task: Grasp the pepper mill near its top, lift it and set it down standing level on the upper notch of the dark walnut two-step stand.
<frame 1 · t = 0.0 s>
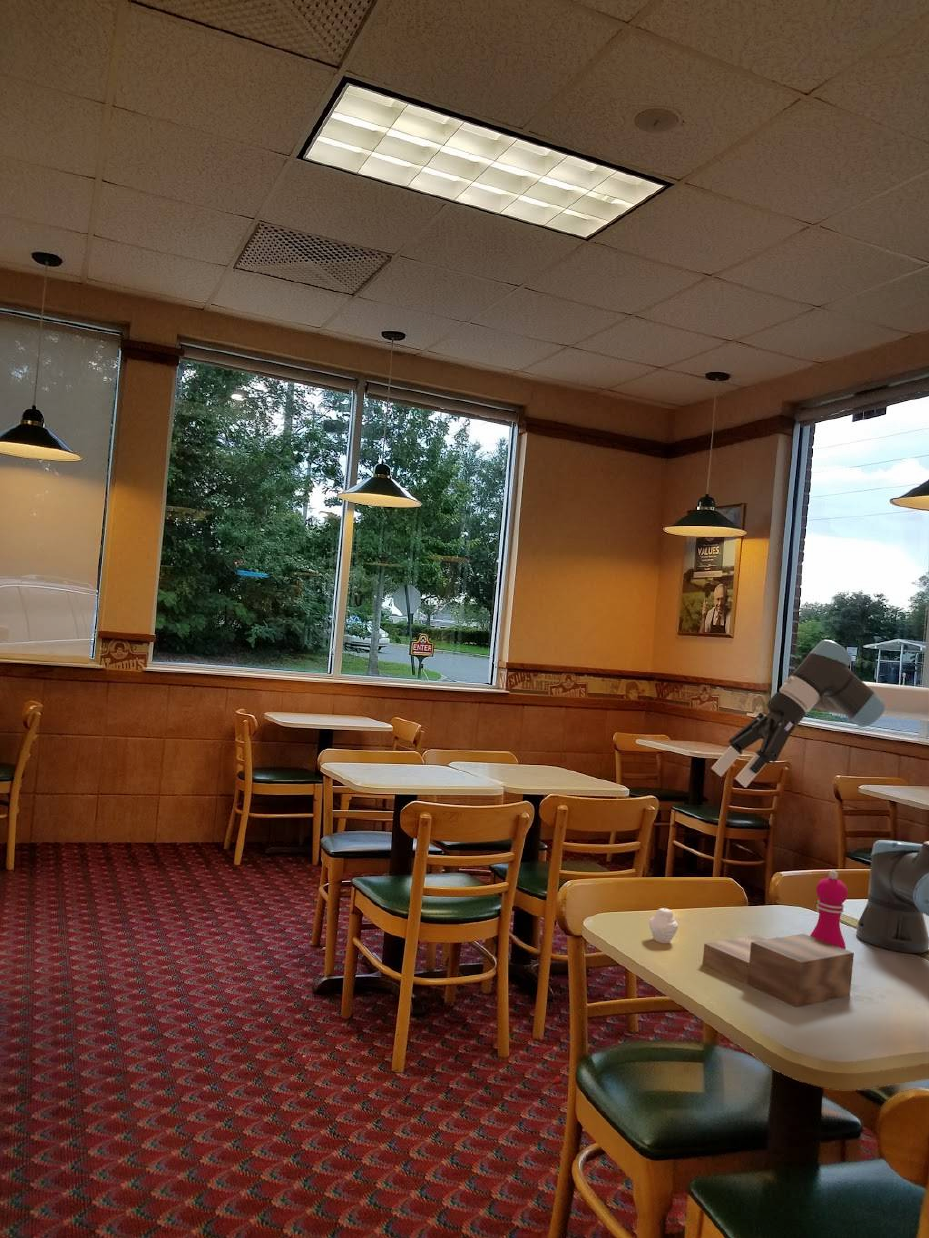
hand: (727, 777, 194), 36 cm above the table, tool tilted 35°, fingers open, 13 cm apart
step stand: (774, 978, 178), on the table
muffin: (661, 941, 195), on the table
pepper mill: (824, 970, 187), on the table
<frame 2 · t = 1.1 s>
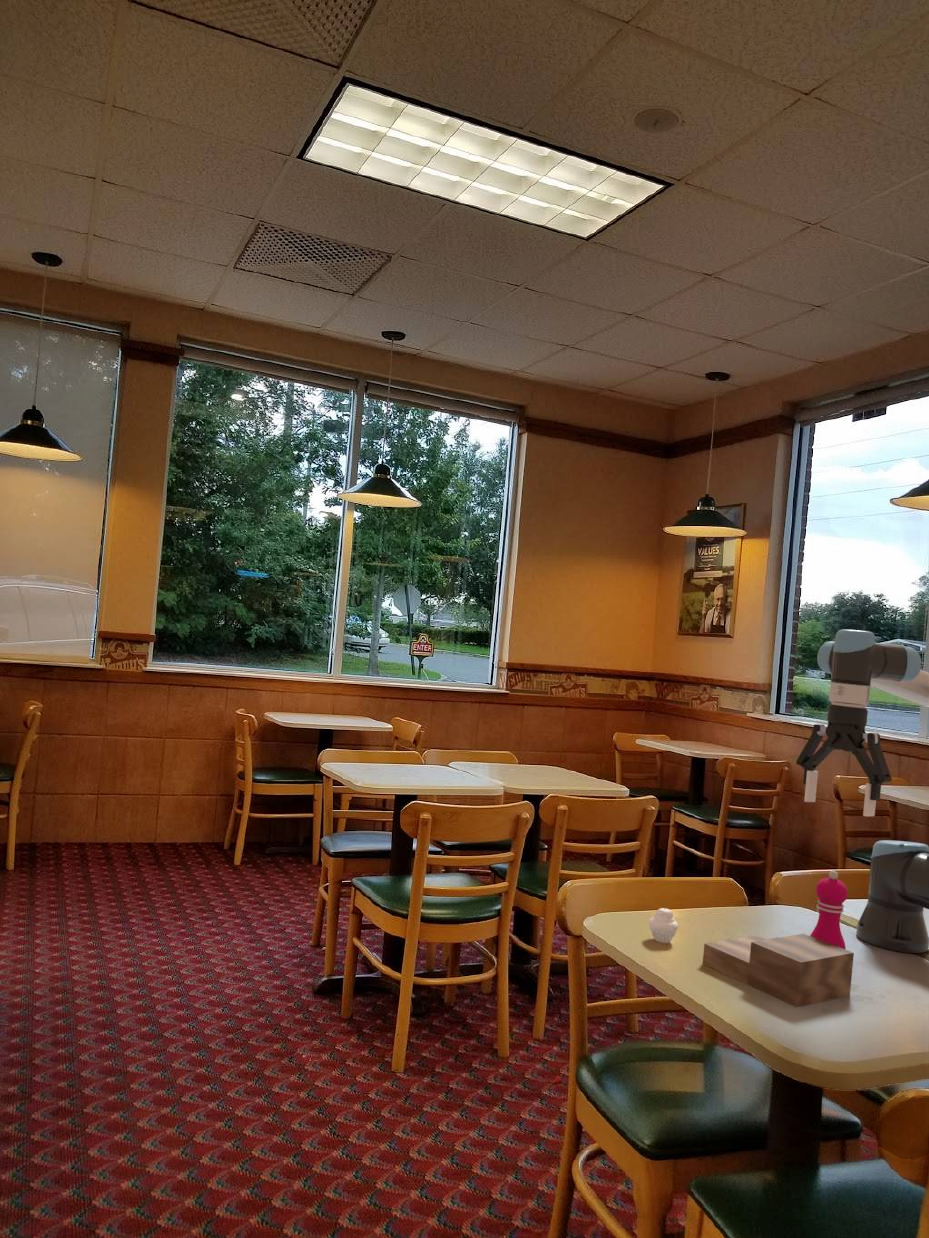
hand: (838, 808, 187), 33 cm above the table, tool pointing down, fingers open, 13 cm apart
nothing on the table moved.
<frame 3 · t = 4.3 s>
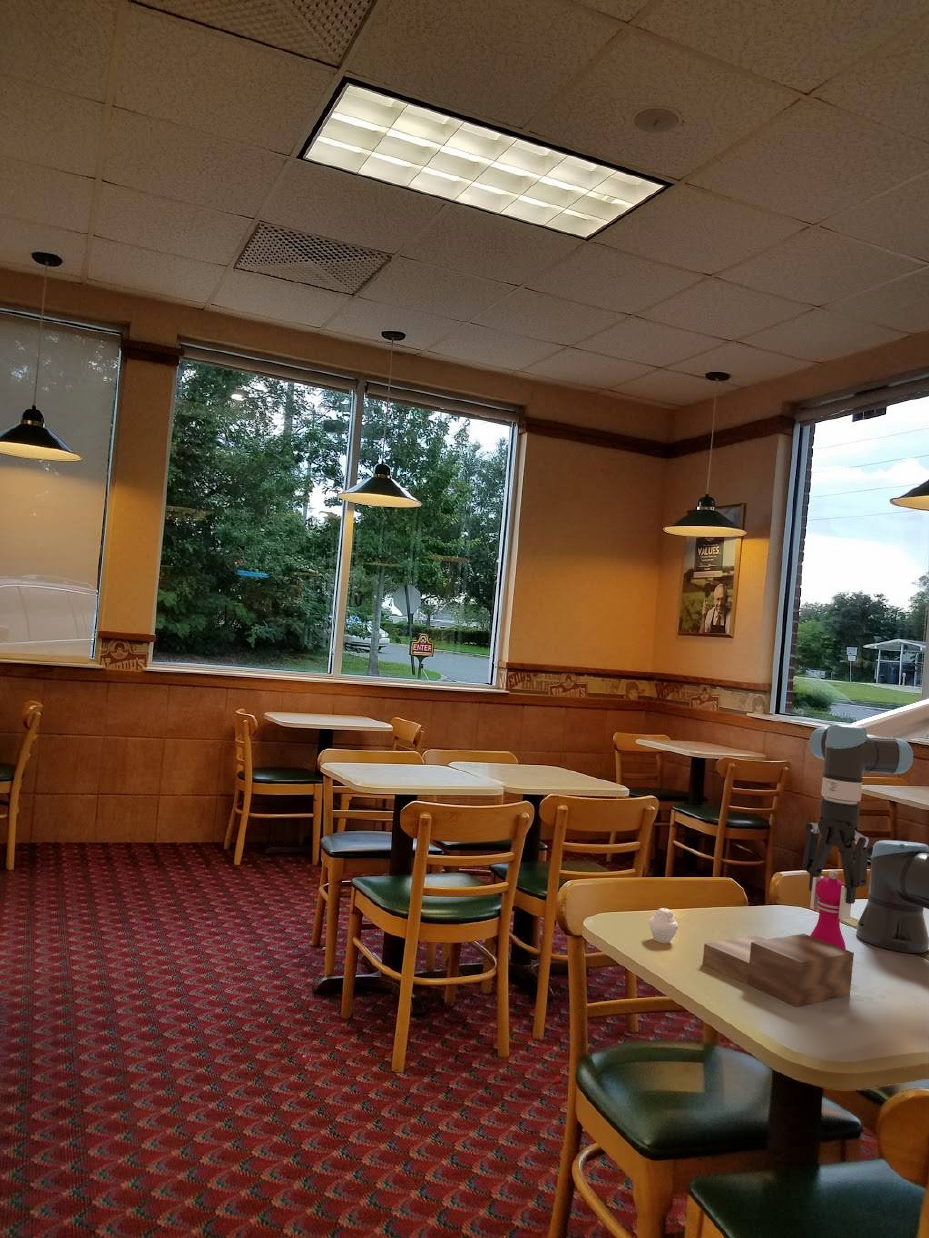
hand: (829, 913, 187), 11 cm above the table, tool pointing down, fingers closed on pepper mill, 6 cm apart
pepper mill: (824, 969, 187), on the table, touching gripper
everything else where it was.
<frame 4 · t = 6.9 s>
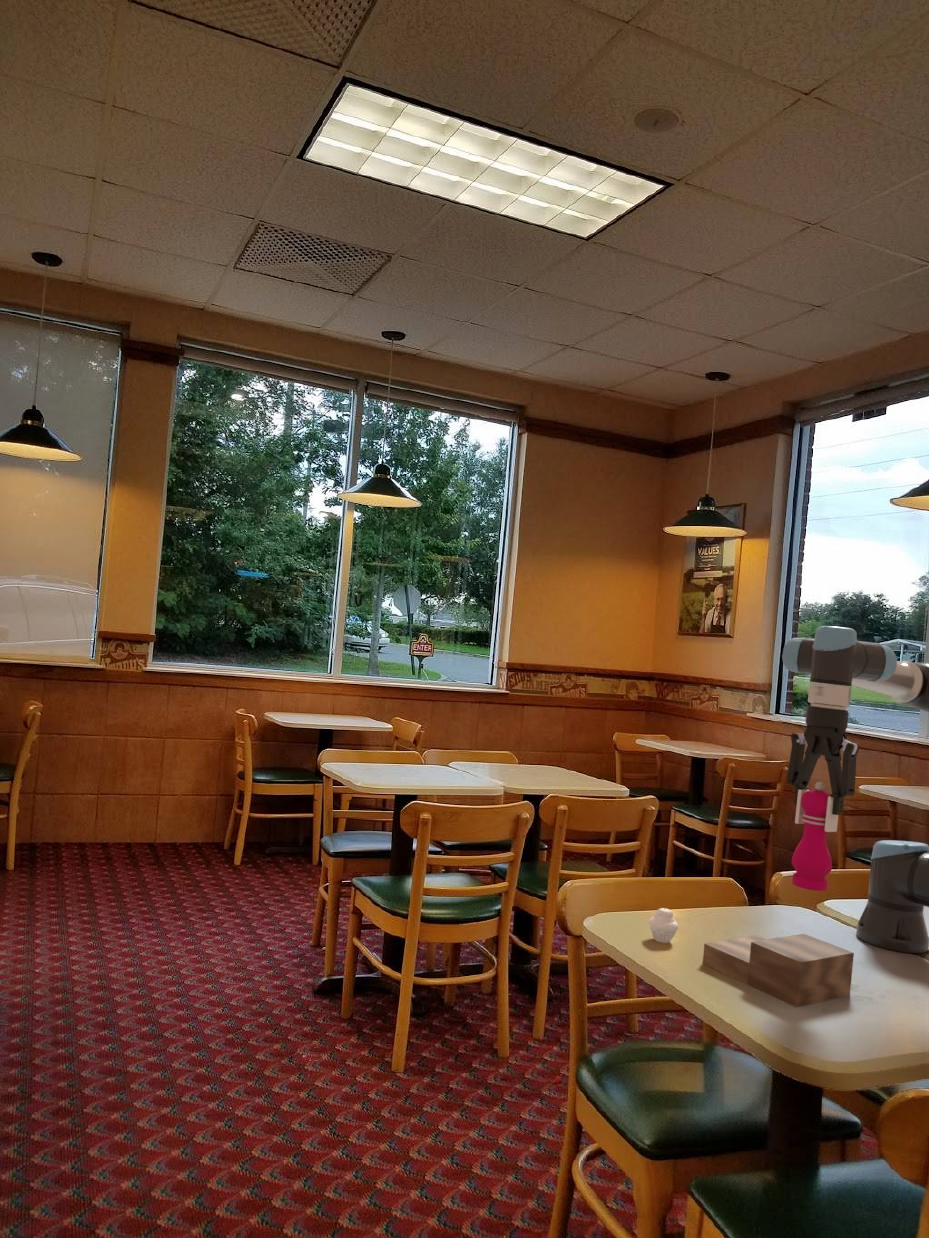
hand: (815, 827, 175), 31 cm above the table, tool pointing down, fingers closed on pepper mill, 6 cm apart
pepper mill: (809, 887, 175), point 19 cm above the table, touching gripper
everything else where it was.
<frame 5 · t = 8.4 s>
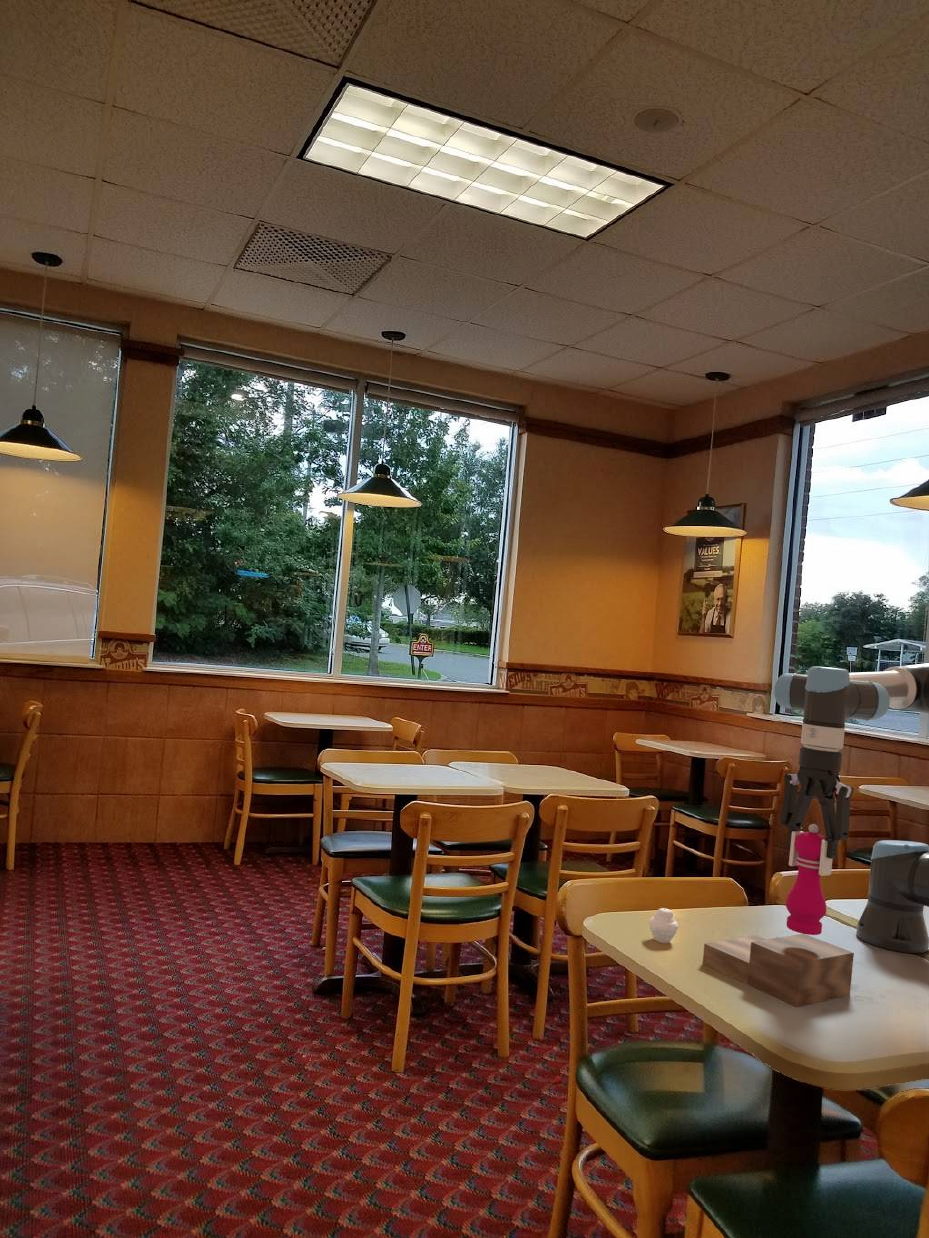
hand: (809, 869, 174), 23 cm above the table, tool pointing down, fingers closed on pepper mill, 6 cm apart
pepper mill: (803, 930, 173), point 11 cm above the table, touching gripper
everything else where it was.
when the fingers open (20 cm above the table, at t = 9.7 s): pepper mill stays where it is, resting on step stand.
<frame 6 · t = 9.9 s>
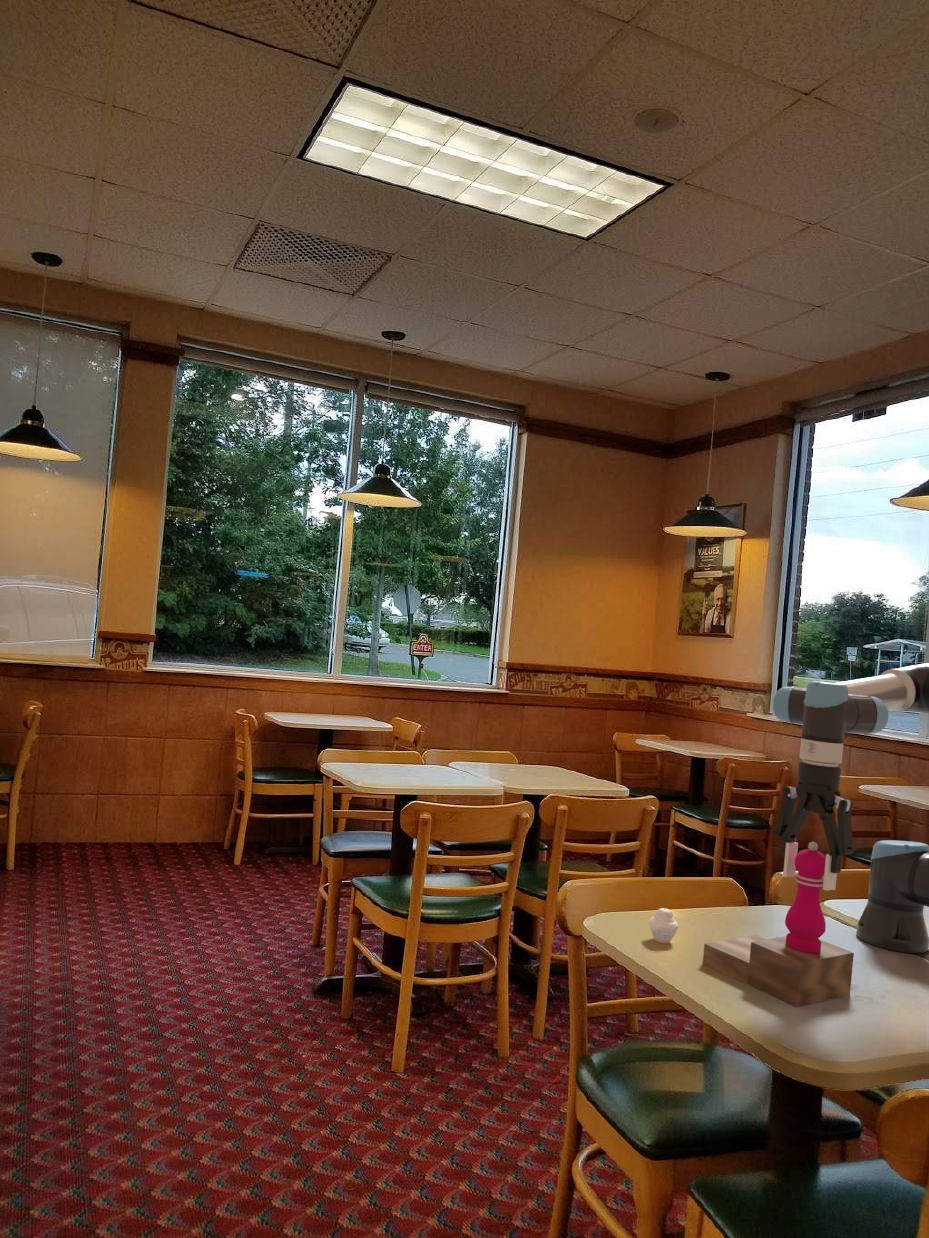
hand: (808, 882, 174), 20 cm above the table, tool pointing down, fingers open, 8 cm apart
pepper mill: (802, 948, 173), point 8 cm above the table, touching step stand
everything else where it was.
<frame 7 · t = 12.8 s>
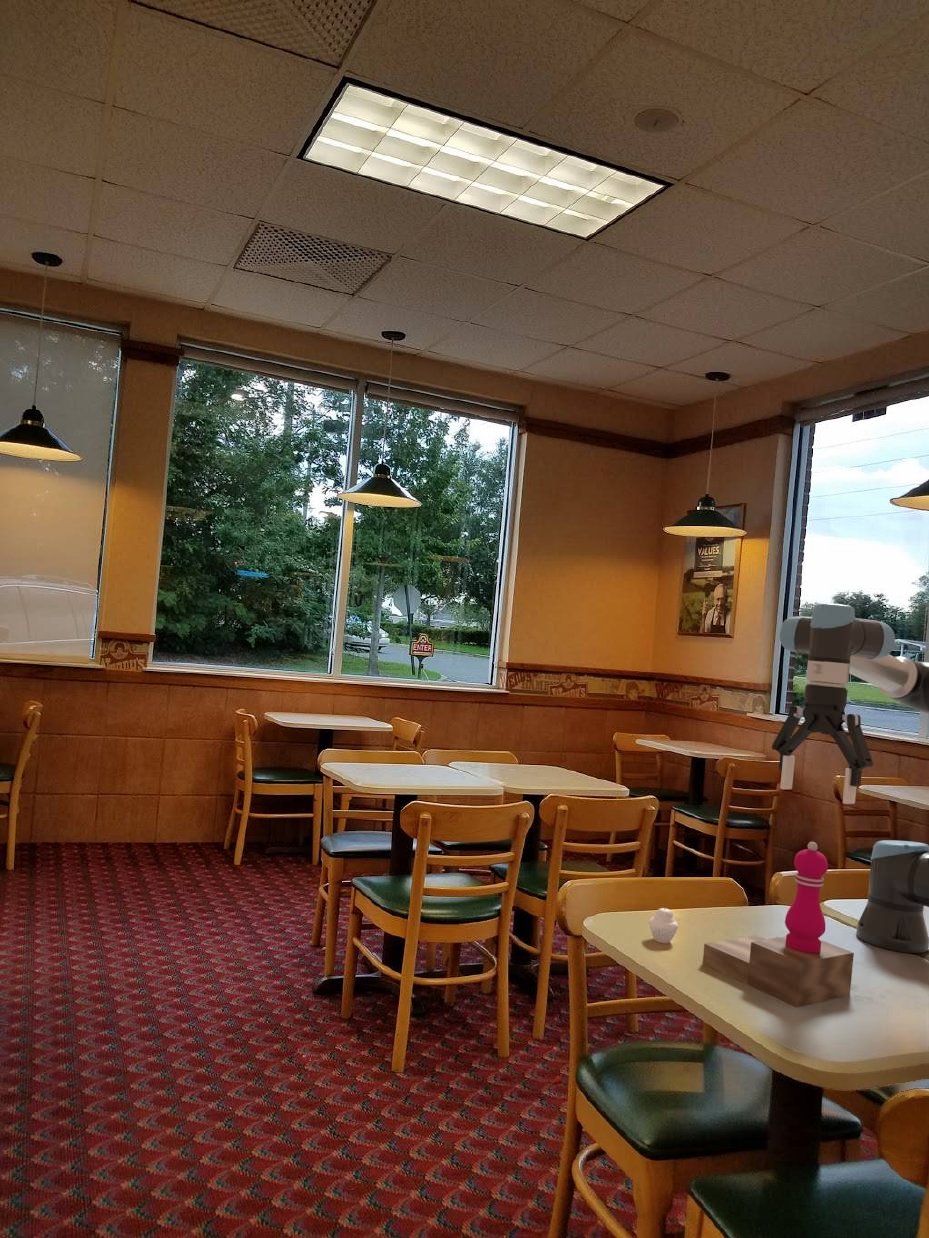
hand: (816, 796, 175), 37 cm above the table, tool pointing down, fingers open, 13 cm apart
nothing on the table moved.
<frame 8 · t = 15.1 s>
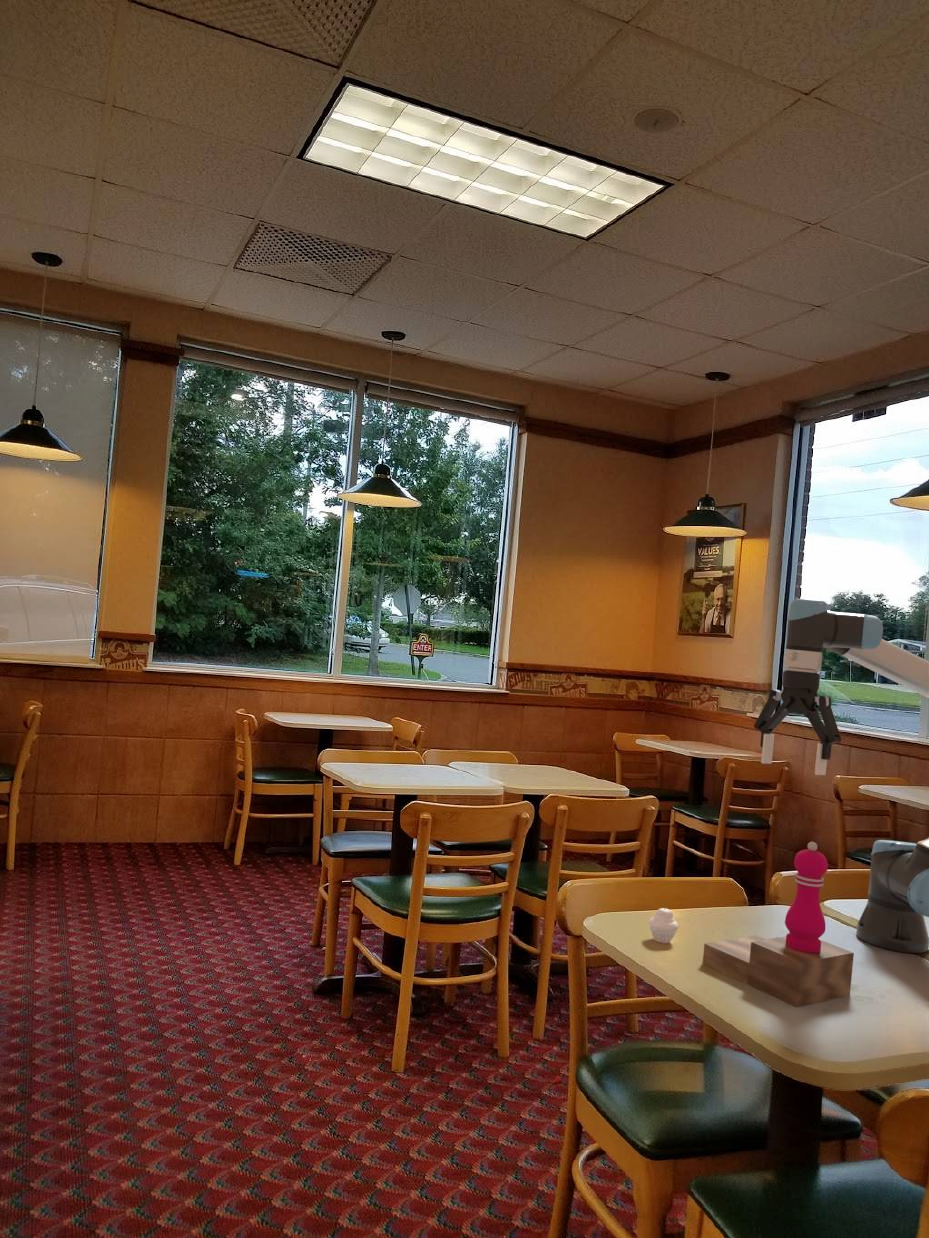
hand: (792, 769, 197), 39 cm above the table, tool pointing down, fingers open, 13 cm apart
nothing on the table moved.
at the end: pepper mill inside the target area on the step stand (0.1 cm from its centre), point 7.8 cm above the step stand's base; pepper mill tilted 0°; the gripper is holding nothing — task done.
